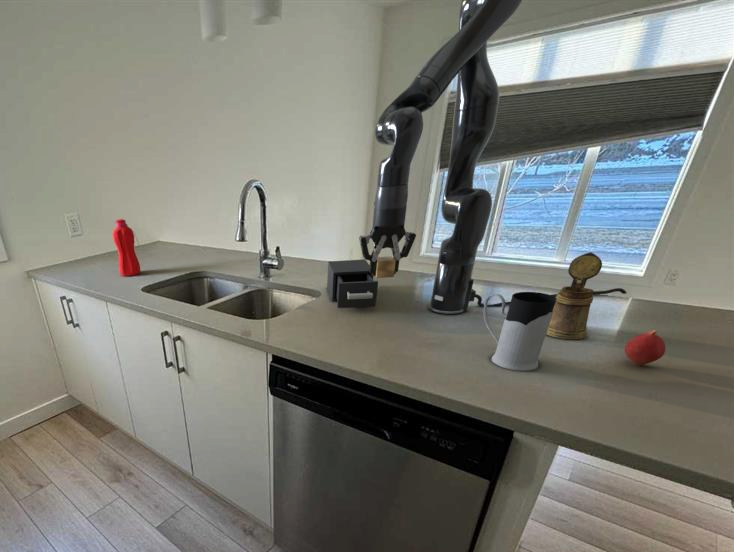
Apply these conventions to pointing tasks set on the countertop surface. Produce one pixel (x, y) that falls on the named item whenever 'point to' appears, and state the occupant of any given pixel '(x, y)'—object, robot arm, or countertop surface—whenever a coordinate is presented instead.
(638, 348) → the onion
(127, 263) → the water bottle
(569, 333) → the wooden mug
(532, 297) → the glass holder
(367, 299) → the dark grey drawer
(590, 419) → the countertop surface
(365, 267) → the small drawer cabinet
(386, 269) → the block
